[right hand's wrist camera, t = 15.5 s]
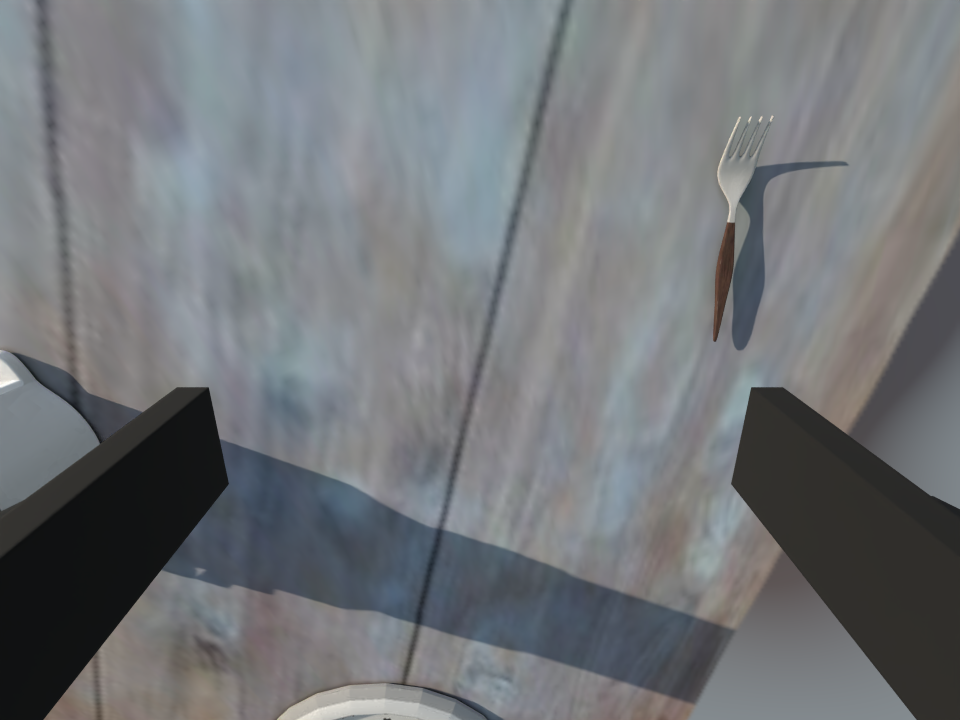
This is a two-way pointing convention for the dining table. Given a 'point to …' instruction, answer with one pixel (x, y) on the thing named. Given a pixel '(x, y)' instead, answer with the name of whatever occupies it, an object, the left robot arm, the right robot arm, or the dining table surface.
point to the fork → (733, 209)
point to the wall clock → (380, 705)
